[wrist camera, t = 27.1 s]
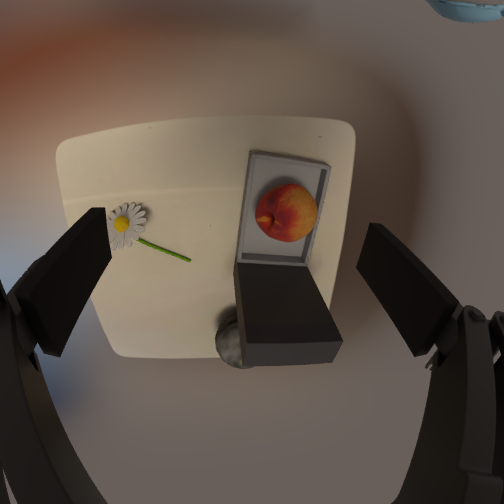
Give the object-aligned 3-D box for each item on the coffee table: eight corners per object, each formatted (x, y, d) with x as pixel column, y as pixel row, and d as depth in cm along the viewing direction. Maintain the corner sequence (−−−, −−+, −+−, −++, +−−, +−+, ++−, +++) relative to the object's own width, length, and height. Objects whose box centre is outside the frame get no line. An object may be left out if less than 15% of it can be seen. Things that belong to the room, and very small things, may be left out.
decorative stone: (272, 304, 50) (283, 344, 41) (260, 341, 54) (267, 380, 46) (218, 299, 48) (219, 341, 39) (212, 337, 52) (212, 377, 44)
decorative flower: (190, 277, 36) (90, 237, 32) (182, 283, 42) (96, 249, 37) (207, 227, 39) (113, 189, 35) (197, 240, 45) (115, 206, 40)
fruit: (268, 168, 37) (279, 182, 30) (317, 189, 39) (337, 208, 32) (246, 217, 40) (251, 241, 33) (294, 234, 42) (308, 260, 35)
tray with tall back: (249, 150, 36) (275, 187, 20) (324, 162, 38) (397, 207, 21) (233, 274, 46) (242, 366, 29) (297, 277, 47) (332, 362, 31)
